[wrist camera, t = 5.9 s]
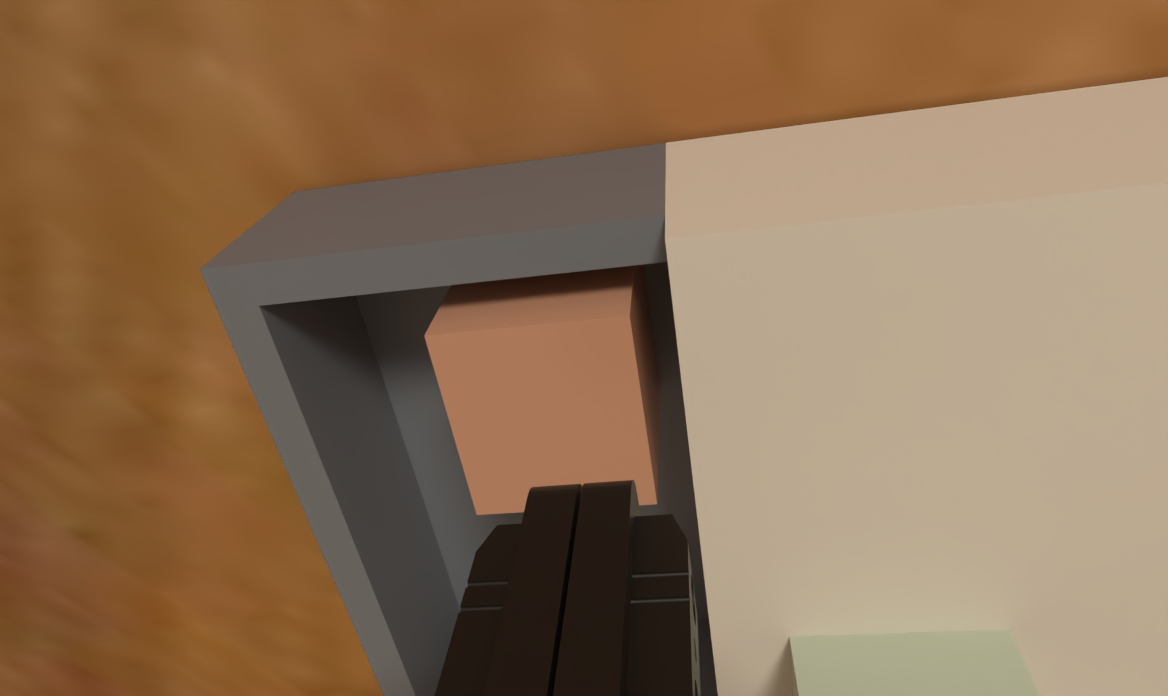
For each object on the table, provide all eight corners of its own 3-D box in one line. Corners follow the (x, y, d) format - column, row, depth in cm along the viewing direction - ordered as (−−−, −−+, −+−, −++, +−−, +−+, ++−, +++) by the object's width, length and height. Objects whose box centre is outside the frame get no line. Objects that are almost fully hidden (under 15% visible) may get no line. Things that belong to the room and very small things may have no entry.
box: (665, 143, 16) (665, 214, 12) (718, 627, 23) (727, 760, 19) (293, 191, 17) (199, 269, 14) (449, 636, 24) (412, 763, 20)
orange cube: (629, 315, 13) (424, 335, 13) (656, 504, 15) (476, 515, 15) (638, 224, 16) (474, 243, 17) (659, 387, 18) (512, 399, 19)
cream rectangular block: (1223, 69, 14) (1463, 149, 10) (1099, 613, 21) (1210, 800, 17) (665, 143, 16) (665, 239, 12) (718, 627, 23) (730, 801, 18)
